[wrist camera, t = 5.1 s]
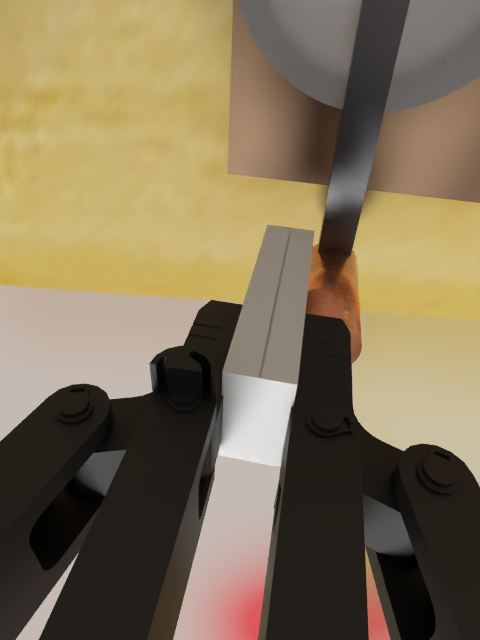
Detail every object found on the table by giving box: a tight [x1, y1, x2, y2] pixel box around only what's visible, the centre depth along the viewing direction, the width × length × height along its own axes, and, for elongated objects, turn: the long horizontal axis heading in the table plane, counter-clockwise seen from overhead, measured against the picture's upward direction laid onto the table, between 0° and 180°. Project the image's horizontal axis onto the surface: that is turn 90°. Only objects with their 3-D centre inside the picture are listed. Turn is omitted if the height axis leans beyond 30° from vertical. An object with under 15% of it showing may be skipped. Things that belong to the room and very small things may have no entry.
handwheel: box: [237, 0, 480, 364], centre depth 11 cm, size 9×16×6 cm, turn 177°
